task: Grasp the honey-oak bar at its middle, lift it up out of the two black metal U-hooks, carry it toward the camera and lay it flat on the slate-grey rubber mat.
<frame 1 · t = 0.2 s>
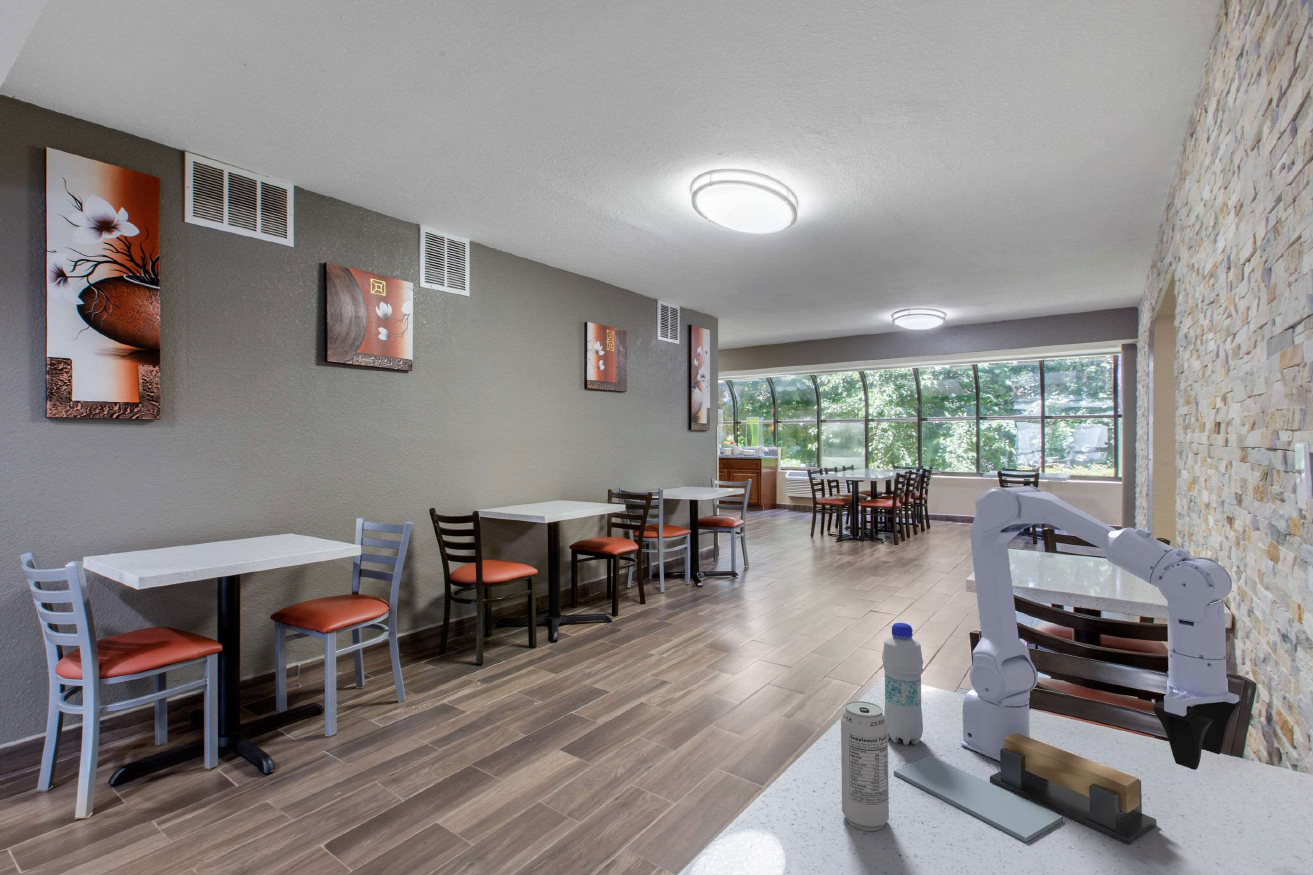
hand: (1198, 758, 81), 10 cm above the table, tool pointing down, fingers open, 7 cm apart
mat: (972, 795, 91), on the table
oak rail: (1067, 781, 89), point 3 cm above the table, touching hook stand
energy drink can: (865, 821, 85), on the table
bottle: (903, 740, 109), on the table
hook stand: (1067, 801, 89), on the table
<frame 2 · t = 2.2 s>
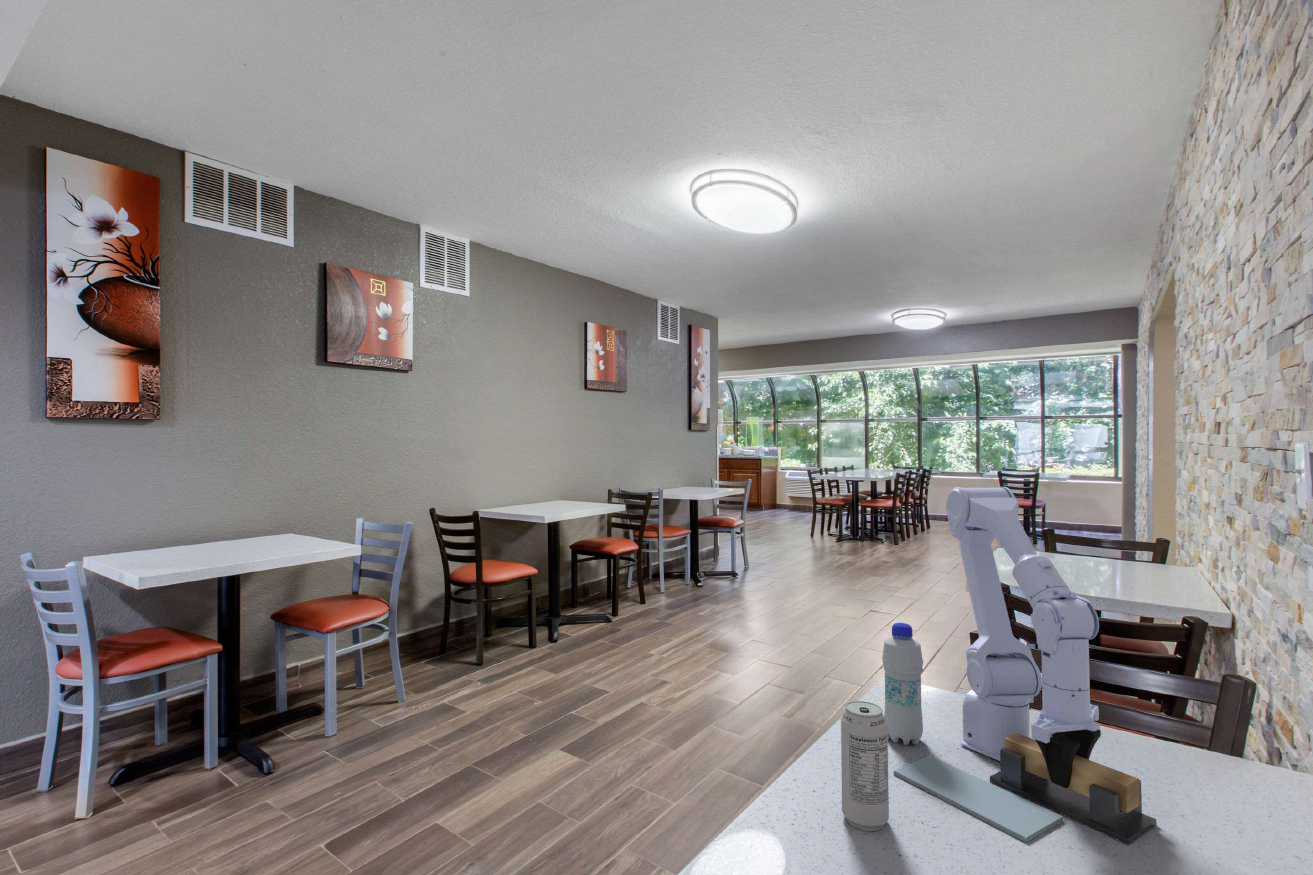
hand: (1067, 780, 89), 3 cm above the table, tool pointing down, fingers closed on oak rail, 3 cm apart
oak rail: (1067, 781, 89), point 3 cm above the table, touching gripper, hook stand
everything else where it was.
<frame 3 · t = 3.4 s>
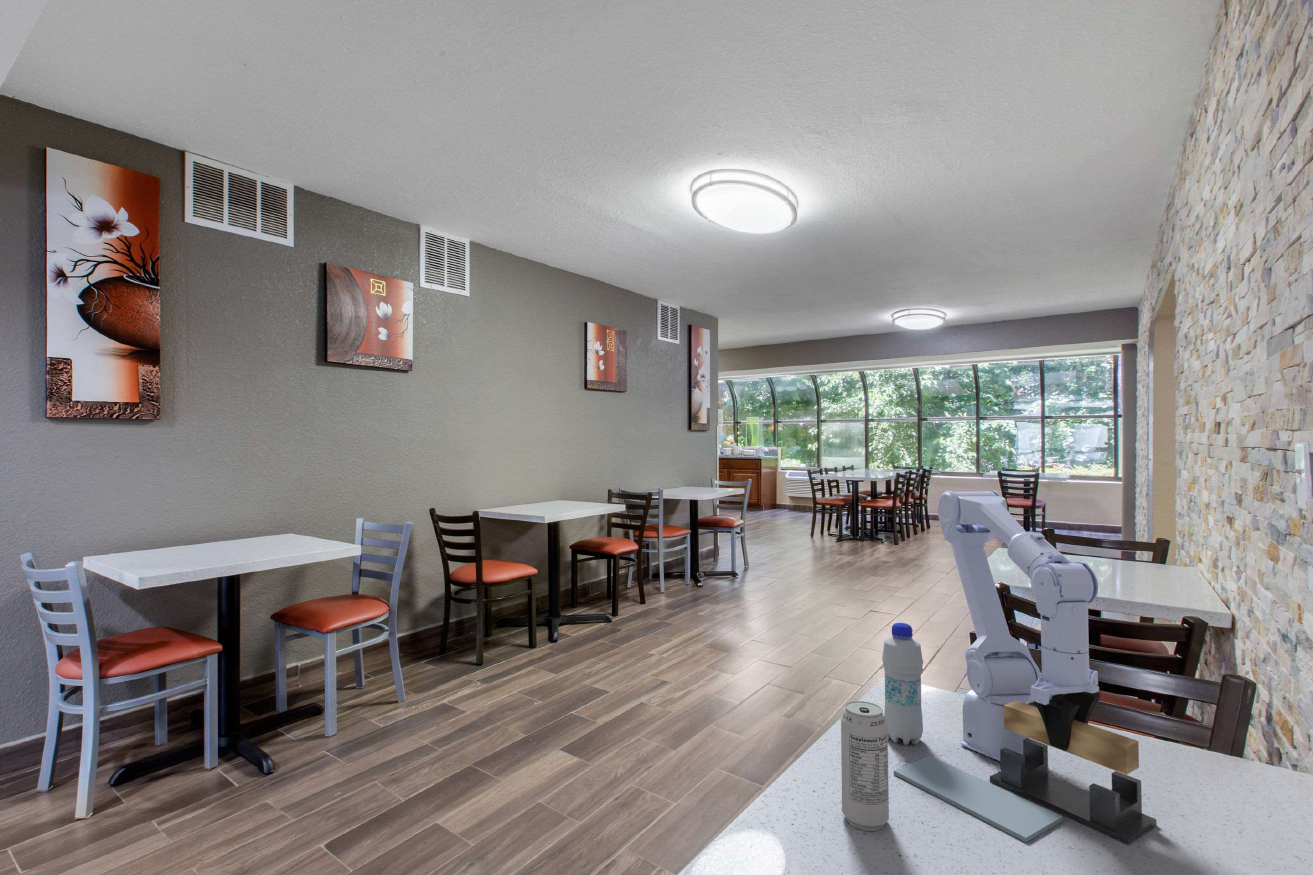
hand: (1066, 743, 89), 8 cm above the table, tool pointing down, fingers closed on oak rail, 3 cm apart
oak rail: (1067, 746, 89), point 8 cm above the table, touching gripper
everything else where it was.
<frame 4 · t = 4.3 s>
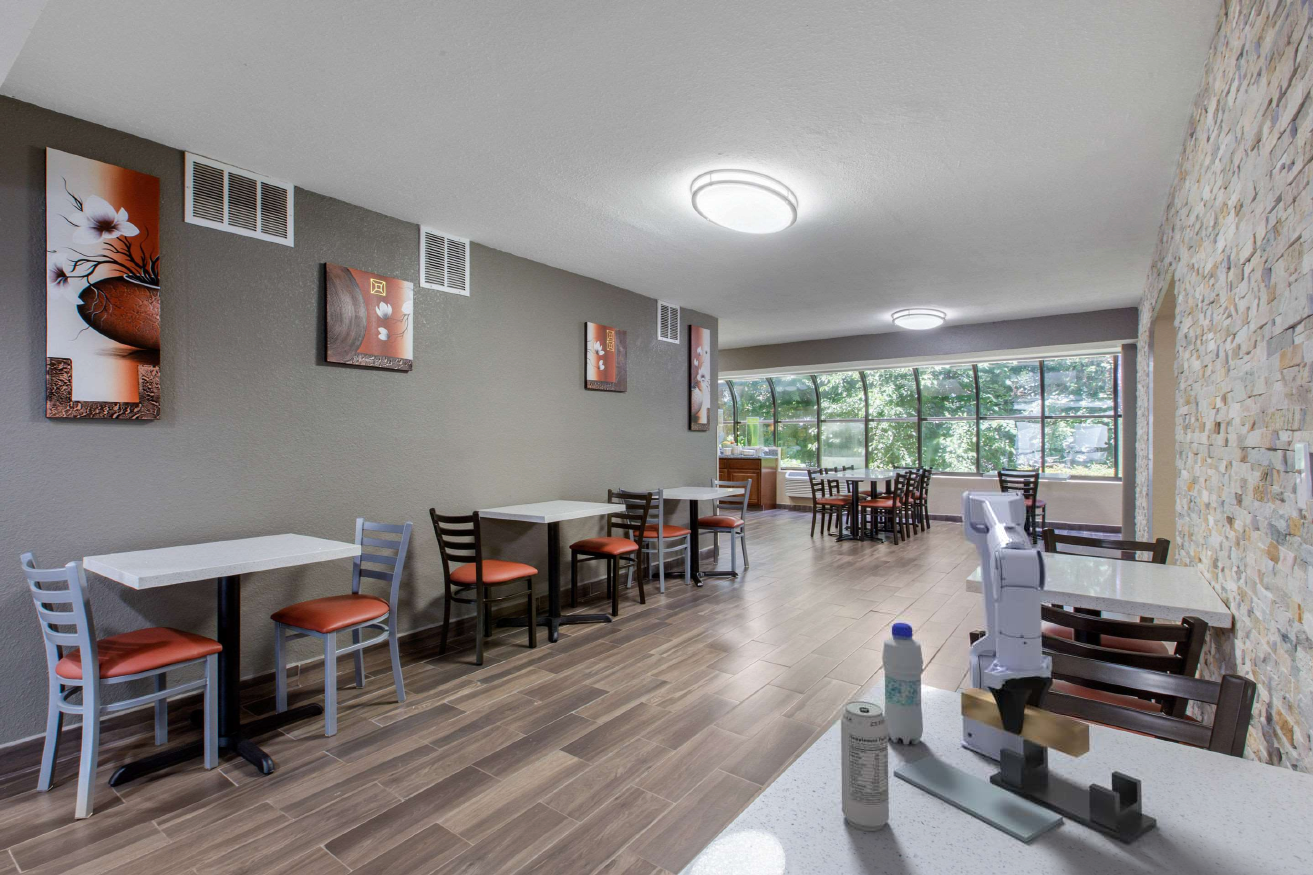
hand: (1020, 728, 90), 10 cm above the table, tool pointing down, fingers closed on oak rail, 3 cm apart
oak rail: (1021, 731, 90), point 10 cm above the table, touching gripper
everything else where it was.
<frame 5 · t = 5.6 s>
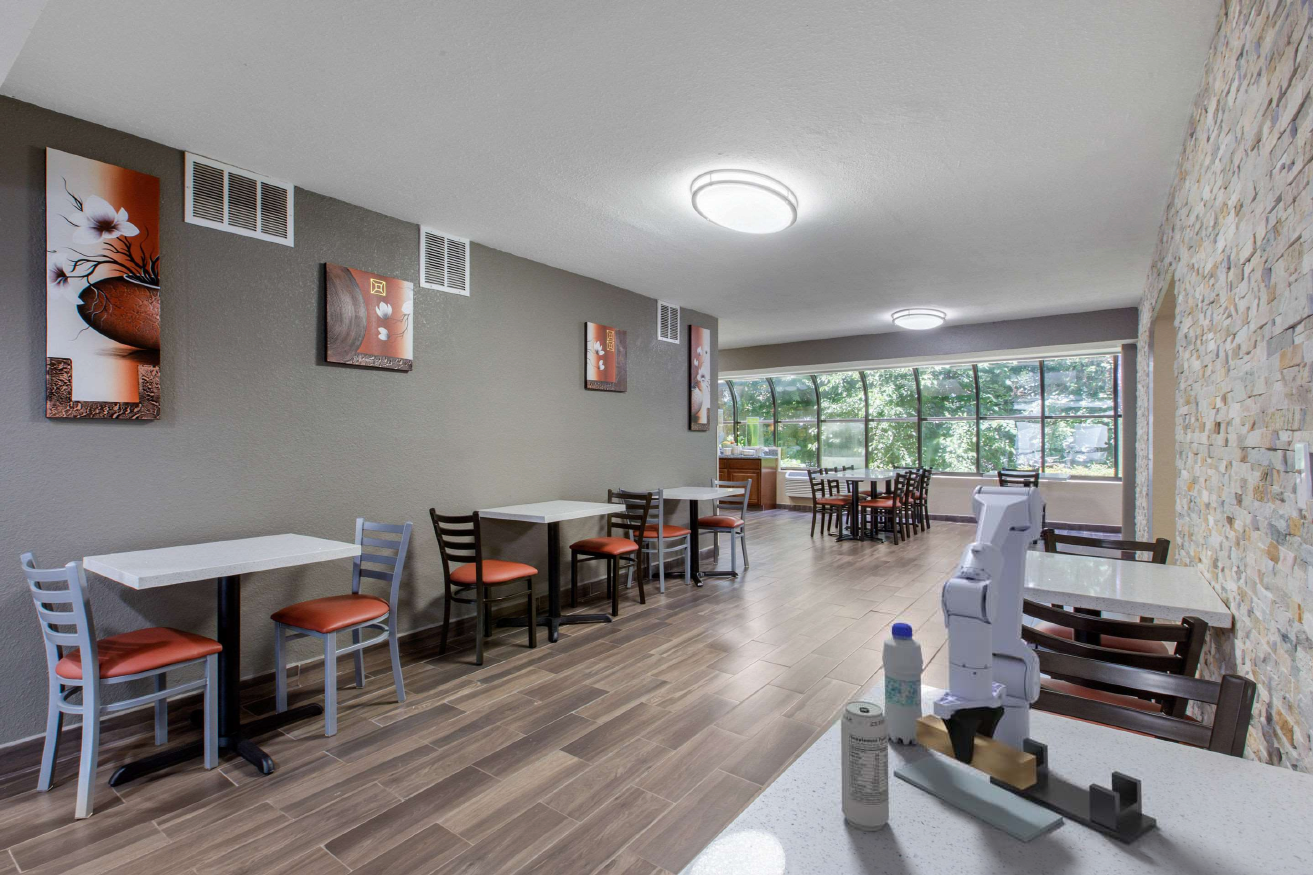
hand: (971, 757, 91), 6 cm above the table, tool pointing down, fingers closed on oak rail, 3 cm apart
oak rail: (972, 760, 91), point 5 cm above the table, touching gripper
everything else where it was.
when the fingers open (2 cm above the table, at t = 6.7 s): oak rail stays where it is, resting on mat.
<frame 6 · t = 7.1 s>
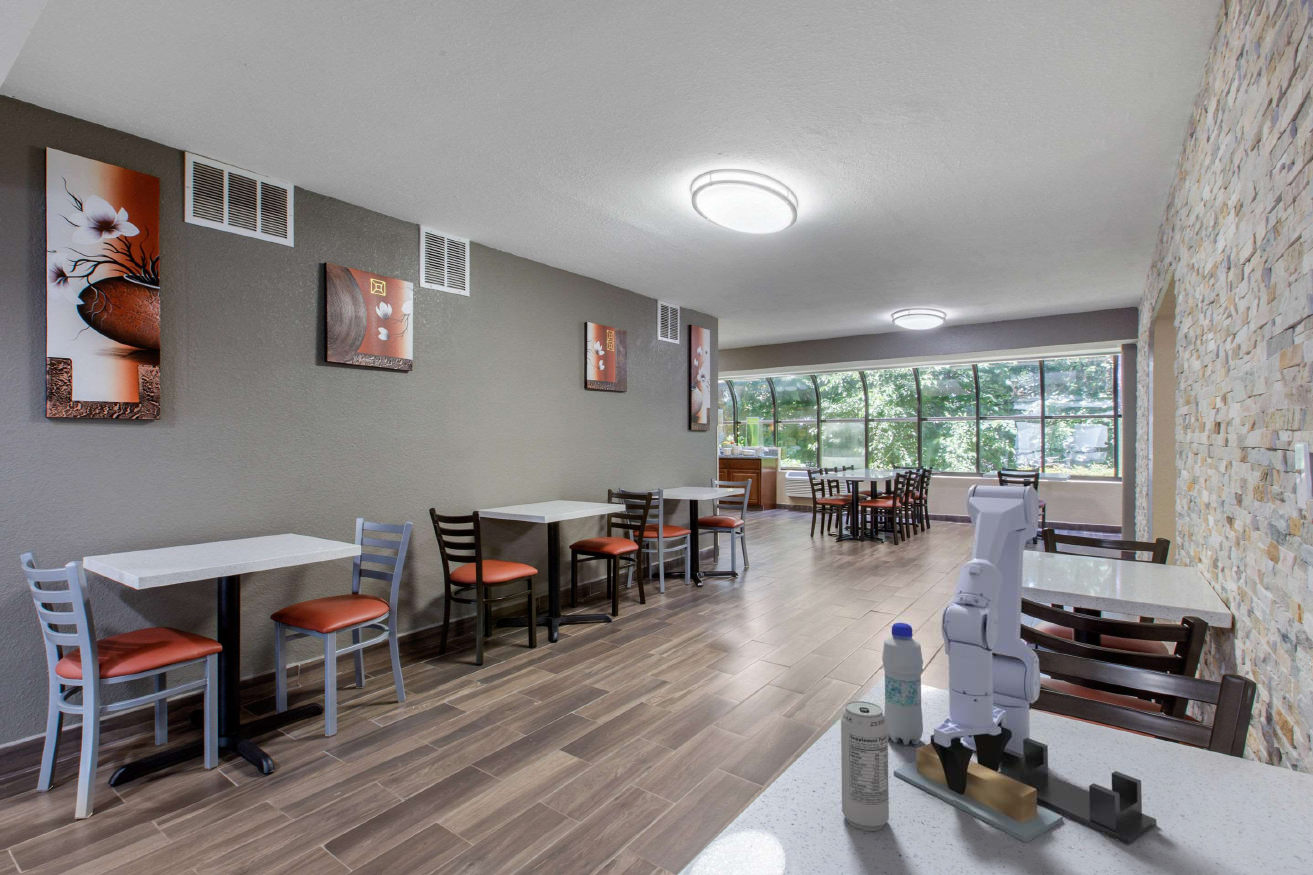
hand: (972, 783, 91), 2 cm above the table, tool pointing down, fingers open, 7 cm apart
oak rail: (973, 791, 91), point 1 cm above the table, touching mat
everything else where it was.
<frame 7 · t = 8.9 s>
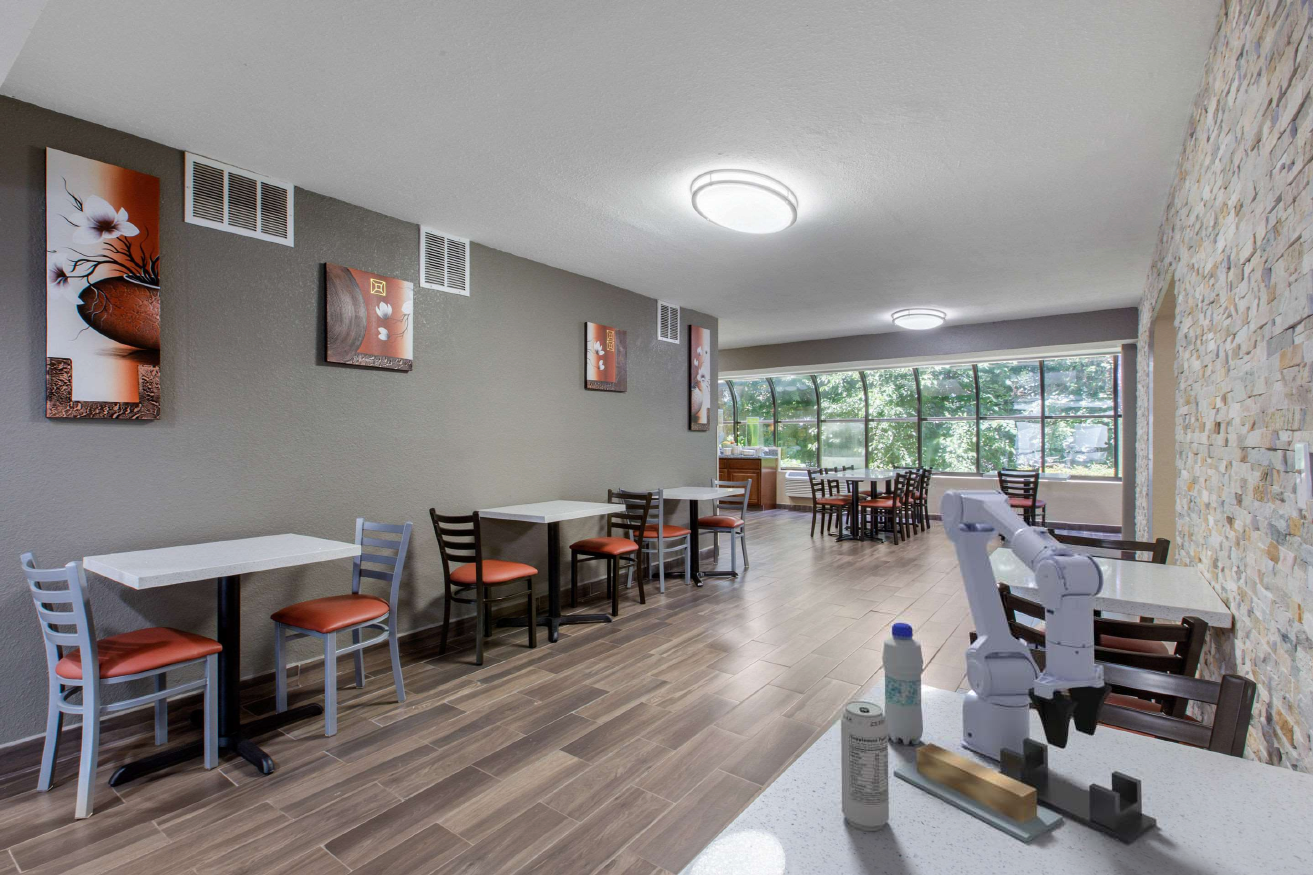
hand: (1071, 738, 88), 9 cm above the table, tool pointing down, fingers open, 7 cm apart
nothing on the table moved.
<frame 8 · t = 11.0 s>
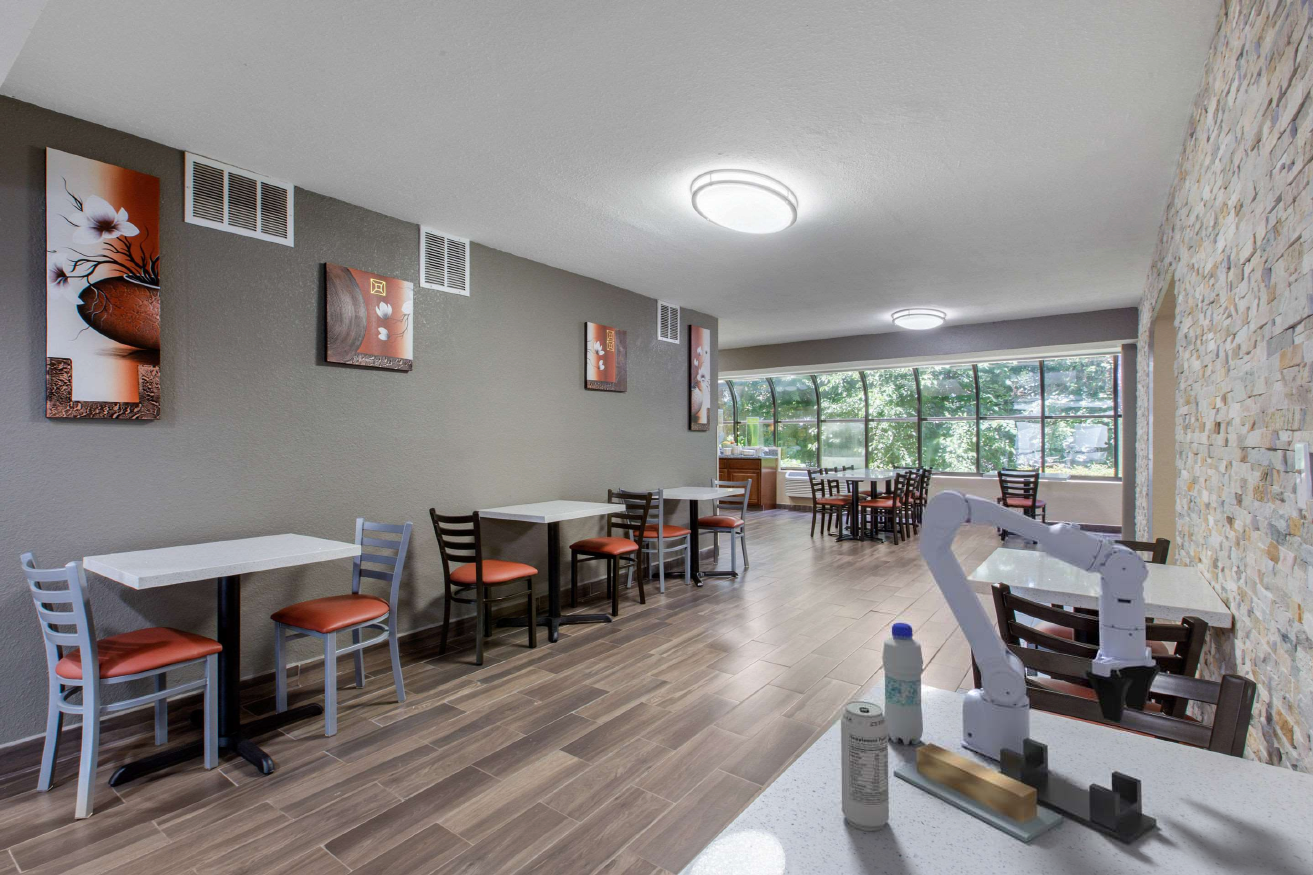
hand: (1124, 714, 96), 9 cm above the table, tool pointing down, fingers open, 7 cm apart
nothing on the table moved.
at the end: oak rail inside the target area (0.4 cm from its centre), point 0.6 cm above the table; oak rail touching mat; the gripper is holding nothing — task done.
